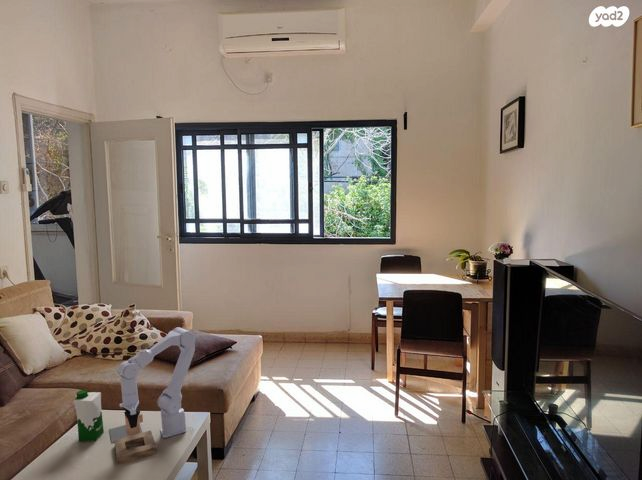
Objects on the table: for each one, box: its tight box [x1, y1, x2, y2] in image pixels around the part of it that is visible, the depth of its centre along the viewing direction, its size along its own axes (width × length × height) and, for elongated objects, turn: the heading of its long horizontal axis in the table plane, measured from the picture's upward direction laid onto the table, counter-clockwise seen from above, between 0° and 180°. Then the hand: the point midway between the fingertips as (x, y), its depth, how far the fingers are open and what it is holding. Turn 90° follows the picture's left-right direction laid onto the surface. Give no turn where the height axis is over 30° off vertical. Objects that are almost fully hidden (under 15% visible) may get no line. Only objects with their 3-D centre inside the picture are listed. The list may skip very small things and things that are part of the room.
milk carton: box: [73, 389, 104, 442], centre depth 189 cm, size 9×9×20 cm
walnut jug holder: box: [114, 430, 158, 465], centre depth 180 cm, size 14×14×2 cm
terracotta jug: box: [124, 412, 144, 436], centre depth 180 cm, size 6×5×8 cm
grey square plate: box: [109, 422, 143, 444], centre depth 193 cm, size 12×12×1 cm
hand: (132, 424), depth 179 cm, fingers closed on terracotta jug, 5 cm apart
